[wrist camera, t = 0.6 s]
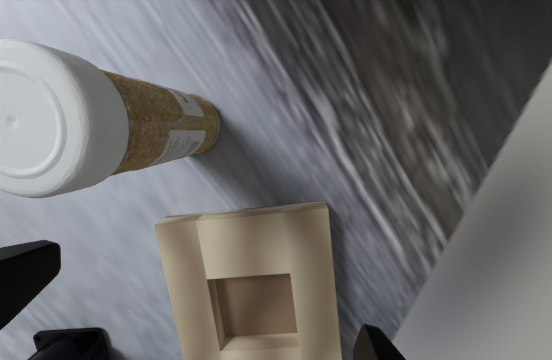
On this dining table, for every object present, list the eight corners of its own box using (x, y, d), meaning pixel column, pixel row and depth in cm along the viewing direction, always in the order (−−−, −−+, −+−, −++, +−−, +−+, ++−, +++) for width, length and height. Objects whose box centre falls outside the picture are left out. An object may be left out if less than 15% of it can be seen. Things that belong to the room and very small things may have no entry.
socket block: (200, 379, 25) (192, 400, 23) (166, 216, 22) (154, 225, 20) (341, 373, 24) (345, 395, 22) (325, 201, 21) (328, 208, 19)
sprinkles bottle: (212, 88, 20) (52, 11, 7) (228, 148, 21) (112, 184, 8) (155, 102, 20) (-96, 58, 7) (173, 161, 21) (-26, 215, 8)
